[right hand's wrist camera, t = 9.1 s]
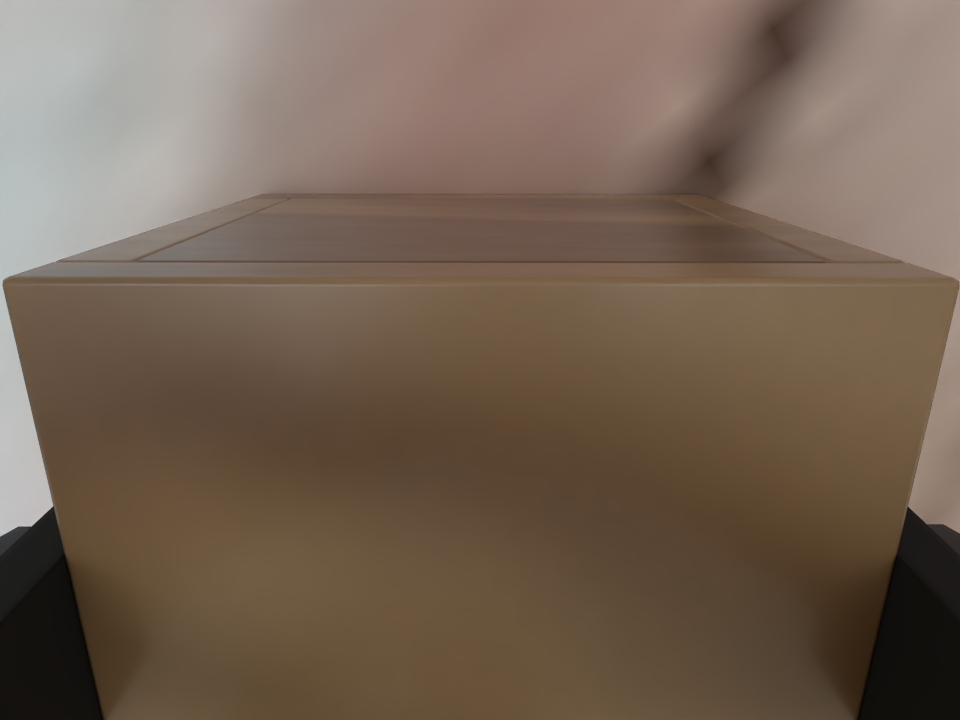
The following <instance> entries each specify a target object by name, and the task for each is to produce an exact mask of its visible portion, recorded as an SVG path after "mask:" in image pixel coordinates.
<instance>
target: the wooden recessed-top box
mask: <svg viewBox="0 0 960 720" xmlns="http://www.w3.org/2000/svg"><path fill="white" fill-rule="evenodd" d="M3 289H4V294H5V298H6V302H7V307H8V311H9V315H10V320H11V324H12V328H13V332H14V337H15V341H16V345H17V350H18V354H19V358H20V363H21V367H22V371H23V376H24V380H25V384H26V389H27V393H28V397H29V402H30V406H31V410H32V415H33V419H34V423H35V428H36V432H37V436H38V441H39V445H40V449H41V453H42V458H43V462H44V466H45V471H46V475H47V479H48V484H49V488H50V492H51V497H52V501H53V505H54V510H55V514H56V518H57V523H58V527H59V531H60V536H61V540H62V544H63V549H64V553H65V557H66V561H67V566H68V570H69V574H70V579H71V583H72V587H73V592H74V596H75V600H76V605H77V609H78V613H79V618H80V622H81V626H82V631H83V635H84V639H85V644H86V648H87V652H88V657H89V661H90V665H91V670H92V674H93V678H94V682H95V687H96V691H97V695H98V700H99V704H100V708H101V713H102V717H103V720H858V716H859V712H860V708H861V704H862V699H863V695H864V691H865V687H866V682H867V678H868V674H869V670H870V665H871V661H872V657H873V652H874V648H875V644H876V640H877V635H878V631H879V627H880V623H881V618H882V614H883V610H884V606H885V601H886V597H887V593H888V589H889V584H890V580H891V576H892V571H893V567H894V563H895V559H896V554H897V550H898V546H899V542H900V537H901V533H902V529H903V525H904V520H905V516H906V512H907V508H908V503H909V499H910V495H911V490H912V486H913V482H914V478H915V473H916V469H917V465H918V461H919V456H920V452H921V448H922V444H923V439H924V435H925V431H926V427H927V422H928V418H929V414H930V409H931V405H932V401H933V397H934V392H935V388H936V384H937V380H938V375H939V371H940V367H941V363H942V358H943V354H944V350H945V346H946V341H947V337H948V333H949V328H950V324H951V320H952V316H953V311H954V307H955V303H956V299H957V294H958V290H959V282H958V280H956V279H954V278H952V277H949V276H946V275H943V274H940V273H937V272H934V271H931V270H927V269H924V268H921V267H918V266H915V265H912V264H909V263H905V262H902V261H900V260H897V259H894V258H891V257H888V256H885V255H882V254H879V253H876V252H873V251H870V250H867V249H863V248H860V247H857V246H854V245H851V244H848V243H845V242H842V241H839V240H836V239H833V238H830V237H827V236H824V235H821V234H818V233H815V232H811V231H808V230H805V229H802V228H799V227H796V226H793V225H790V224H787V223H784V222H781V221H778V220H775V219H772V218H769V217H766V216H763V215H760V214H756V213H753V212H750V211H747V210H744V209H741V208H738V207H735V206H732V205H729V204H726V203H723V202H720V201H717V200H714V199H711V198H708V197H705V196H702V195H548V194H261V195H258V196H255V197H252V198H249V199H246V200H242V201H239V202H236V203H233V204H230V205H227V206H224V207H221V208H218V209H215V210H212V211H209V212H206V213H203V214H199V215H196V216H193V217H190V218H187V219H184V220H181V221H178V222H175V223H172V224H169V225H166V226H163V227H159V228H156V229H153V230H150V231H147V232H144V233H141V234H138V235H135V236H132V237H129V238H126V239H123V240H119V241H116V242H113V243H110V244H107V245H104V246H101V247H98V248H95V249H92V250H89V251H86V252H83V253H79V254H76V255H73V256H70V257H67V258H64V259H61V260H58V261H56V262H53V263H50V264H47V265H44V266H41V267H38V268H34V269H31V270H28V271H25V272H22V273H19V274H16V275H13V276H10V277H8V278H6V279H4V280H3Z"/></svg>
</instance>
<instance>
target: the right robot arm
mask: <svg viewBox="0 0 960 720" xmlns="http://www.w3.org/2000/svg"><path fill="white" fill-rule="evenodd" d="M0 720H103V717H102V713H101V708H100V704H99V700H98V695H97V691H96V687H95V682H94V678H93V674H92V670H91V665H90V661H89V657H88V652H87V648H86V644H85V639H84V635H83V631H82V626H81V622H80V618H79V613H78V609H77V605H76V600H75V596H74V592H73V587H72V583H71V579H70V574H69V570H68V566H67V561H66V557H65V553H64V549H63V544H62V540H61V536H60V531H59V527H58V523H57V518H56V514H55V510H54V506H53V507H52V508H51V509H50V510H49V511H48V512H47V513H46V514H45V515H44V516H43V517H41V518H40V519H39V520H38V521H37V522H36V523H35V524H34V525H33V526H32V527H17V528H15V529H13V530H12V531H10V532H8V533H6V534H4V535H3V536H1V537H0ZM858 720H960V534H959V533H958V532H956V531H954V530H952V529H950V528H949V527H947V526H945V525H943V524H926V523H925V522H924V521H923V520H922V519H920V518H919V517H918V516H917V515H916V514H915V513H914V512H913V511H912V510H911V509H910V508H909V507H908V508H907V512H906V516H905V520H904V525H903V529H902V533H901V537H900V542H899V546H898V550H897V554H896V559H895V563H894V567H893V571H892V576H891V580H890V584H889V589H888V593H887V597H886V601H885V606H884V610H883V614H882V618H881V623H880V627H879V631H878V635H877V640H876V644H875V648H874V652H873V657H872V661H871V665H870V670H869V674H868V678H867V682H866V687H865V691H864V695H863V699H862V704H861V708H860V712H859V716H858Z"/></svg>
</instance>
